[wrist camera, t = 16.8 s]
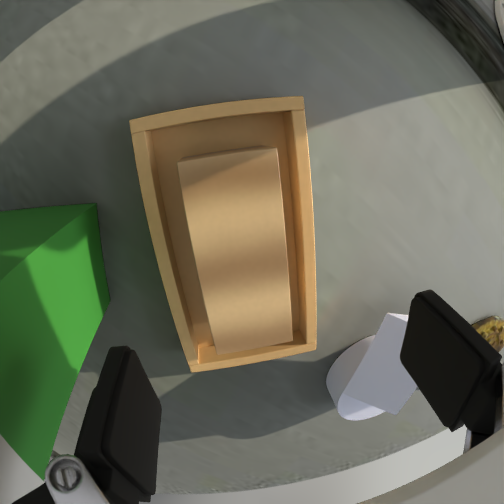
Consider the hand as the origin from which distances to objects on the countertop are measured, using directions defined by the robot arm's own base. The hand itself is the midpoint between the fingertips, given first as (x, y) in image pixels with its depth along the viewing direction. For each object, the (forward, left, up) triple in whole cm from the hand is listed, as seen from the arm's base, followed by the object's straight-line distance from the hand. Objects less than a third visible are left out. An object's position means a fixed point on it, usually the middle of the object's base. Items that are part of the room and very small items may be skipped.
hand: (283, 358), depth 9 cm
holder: (0, -1, -12) cm, 12 cm away
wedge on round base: (+14, +11, -12) cm, 22 cm away
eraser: (0, 0, -12) cm, 12 cm away
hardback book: (-2, -19, -12) cm, 22 cm away
